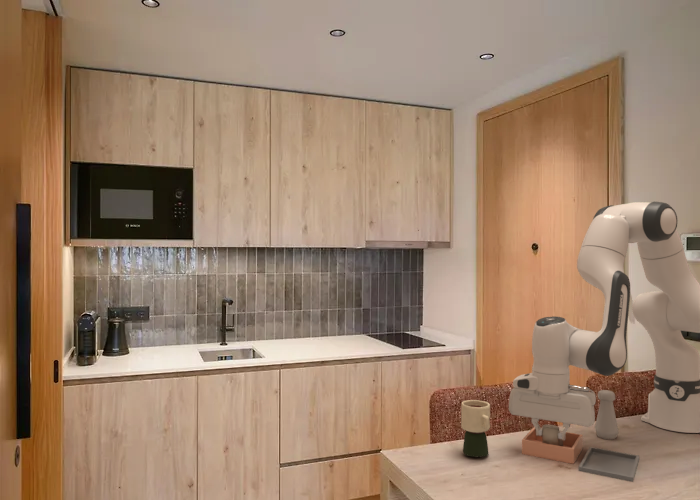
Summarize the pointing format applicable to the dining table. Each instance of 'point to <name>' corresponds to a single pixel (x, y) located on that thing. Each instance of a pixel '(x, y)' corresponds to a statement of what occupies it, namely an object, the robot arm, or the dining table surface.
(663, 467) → the dining table surface
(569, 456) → the open box
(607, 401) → the salt shaker
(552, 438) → the pebble
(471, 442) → the character mug
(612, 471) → the tray
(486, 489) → the dining table surface
